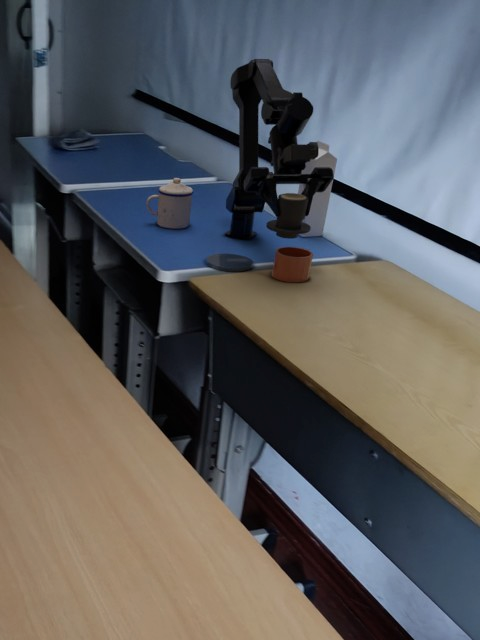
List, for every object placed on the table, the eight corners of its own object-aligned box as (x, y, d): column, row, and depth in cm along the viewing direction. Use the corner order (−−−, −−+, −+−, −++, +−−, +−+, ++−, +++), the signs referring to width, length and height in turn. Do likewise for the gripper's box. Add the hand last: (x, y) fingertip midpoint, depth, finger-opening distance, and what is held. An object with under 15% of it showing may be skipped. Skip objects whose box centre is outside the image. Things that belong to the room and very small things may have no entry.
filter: (275, 226, 190) (281, 188, 185) (315, 234, 186) (322, 195, 181) (258, 236, 184) (264, 196, 179) (299, 244, 179) (306, 204, 175)
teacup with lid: (189, 220, 226) (193, 175, 219) (190, 230, 218) (195, 183, 211) (145, 219, 226) (148, 173, 219) (145, 228, 219) (148, 181, 212)
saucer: (216, 254, 202) (216, 250, 201) (259, 262, 197) (259, 258, 197) (198, 265, 194) (199, 262, 193) (243, 274, 189) (243, 271, 189)
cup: (278, 268, 194) (282, 244, 191) (312, 274, 191) (317, 250, 187) (266, 277, 188) (270, 253, 185) (301, 284, 185) (306, 260, 182)
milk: (302, 237, 216) (318, 145, 203) (291, 230, 220) (306, 140, 208) (322, 236, 217) (340, 144, 204) (311, 229, 222) (327, 140, 209)
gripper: (255, 126, 174) (263, 194, 172) (340, 127, 177) (349, 194, 174) (239, 158, 185) (246, 223, 183) (319, 158, 188) (327, 222, 185)
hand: (292, 215), depth 181 cm, fingers closed on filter, 6 cm apart
